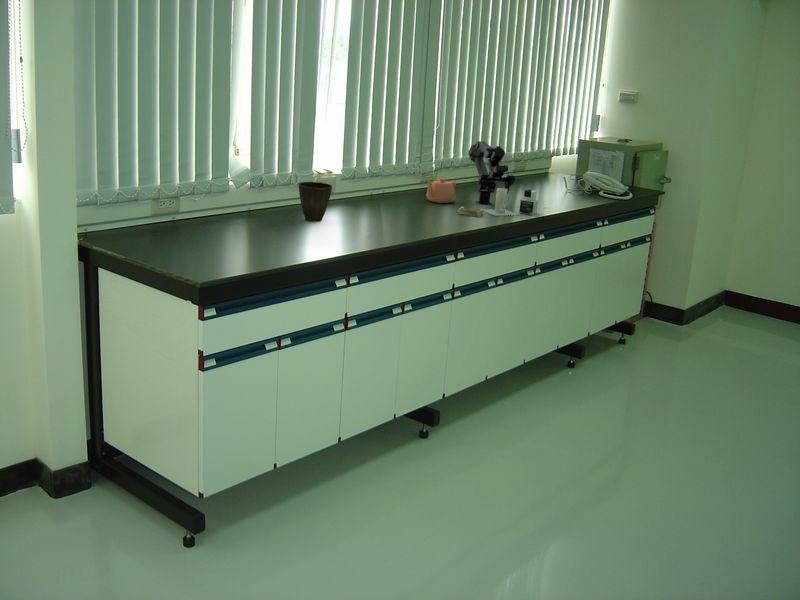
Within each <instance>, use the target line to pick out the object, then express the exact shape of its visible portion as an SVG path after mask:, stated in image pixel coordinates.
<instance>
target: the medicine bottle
mask: <svg viewBox="0 0 800 600" xmlns="http://www.w3.org/2000/svg"><path fill="white" fill-rule="evenodd" d="M519 204H520V205H519V211H518V212H519V214H522V213H523V214H524V215H528V214H530V215H529V216H534V215H536V214H538V213H537V212H538V206H539V205H538V204H539V200H538V199H537V191H536V190H534V189H525V190H524V193H523V198H521V199H520V203H519Z"/></svg>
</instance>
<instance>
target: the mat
mask: <svg viewBox="0 0 800 600" xmlns="http://www.w3.org/2000/svg"><path fill="white" fill-rule="evenodd" d="M482 209H483V208H482ZM484 211H485V213H486V212H487V214H489V215H491V214H492V215H491V216H493V215H494V217H514V216H515V217H516V216H517V217H519V214H517V213H515V212H512V211H510V210H508V209H505V213H496V212H494V211H495V208H493V209H490V208H489V209H488V208H487V209H486V208H485V209H483V212H484ZM508 215H509V216H508ZM510 215H511V216H510ZM513 215H514V216H513Z"/></svg>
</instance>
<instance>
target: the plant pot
mask: <svg viewBox="0 0 800 600" xmlns="http://www.w3.org/2000/svg"><path fill="white" fill-rule="evenodd" d="M332 190H333V185H332V184H330V183H324V182H318V181H303V182H302V181H301V182H299V183H298V192H299V193H298V194H299V200H300V205H301V209H302V213H303V216H304V219H306V220H305V221H307V220H308V222H313V221H319V222H322V221H321V220H323V219H324V216H325V213H326V211H327V208H328V205H329V202H330V199H331V194H332Z"/></svg>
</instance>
